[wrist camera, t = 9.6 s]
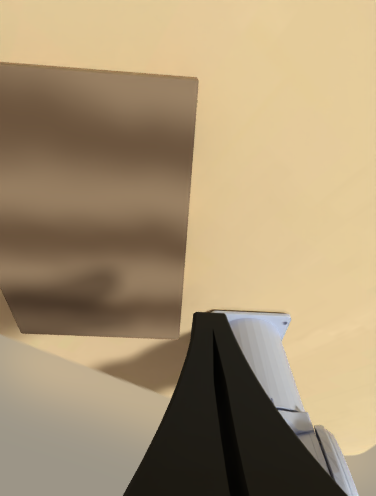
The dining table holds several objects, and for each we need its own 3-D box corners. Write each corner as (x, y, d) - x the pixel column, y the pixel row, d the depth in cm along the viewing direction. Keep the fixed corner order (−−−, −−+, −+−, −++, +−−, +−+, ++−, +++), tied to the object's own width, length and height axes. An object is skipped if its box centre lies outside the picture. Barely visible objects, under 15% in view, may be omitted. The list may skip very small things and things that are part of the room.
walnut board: (179, 314, 27) (178, 339, 24) (36, 307, 26) (21, 333, 24) (196, 77, 15) (198, 80, 13) (-57, 57, 15) (-106, 56, 12)
